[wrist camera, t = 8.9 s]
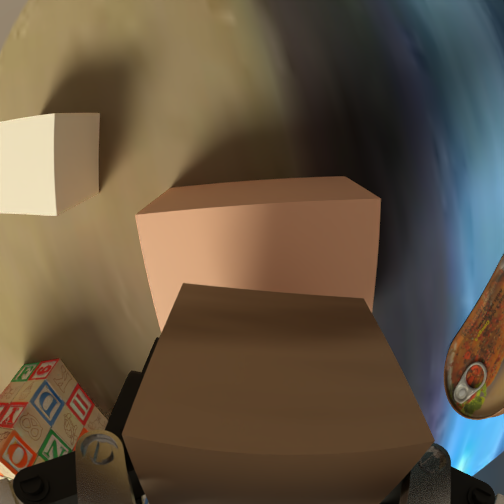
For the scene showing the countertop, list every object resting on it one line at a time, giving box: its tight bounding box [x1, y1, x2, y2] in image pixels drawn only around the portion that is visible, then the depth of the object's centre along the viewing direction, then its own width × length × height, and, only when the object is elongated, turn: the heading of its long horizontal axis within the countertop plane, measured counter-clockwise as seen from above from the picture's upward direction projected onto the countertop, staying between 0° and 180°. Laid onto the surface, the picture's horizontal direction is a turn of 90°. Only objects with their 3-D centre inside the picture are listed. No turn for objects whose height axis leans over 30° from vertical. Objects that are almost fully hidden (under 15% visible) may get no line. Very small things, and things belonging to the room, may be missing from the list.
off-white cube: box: [0, 113, 100, 216], centre depth 15 cm, size 5×5×5 cm
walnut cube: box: [122, 283, 435, 504], centre depth 9 cm, size 6×6×6 cm
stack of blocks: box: [0, 359, 149, 504], centre depth 22 cm, size 21×6×12 cm, turn 19°
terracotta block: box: [135, 176, 381, 333], centre depth 17 cm, size 10×10×6 cm
